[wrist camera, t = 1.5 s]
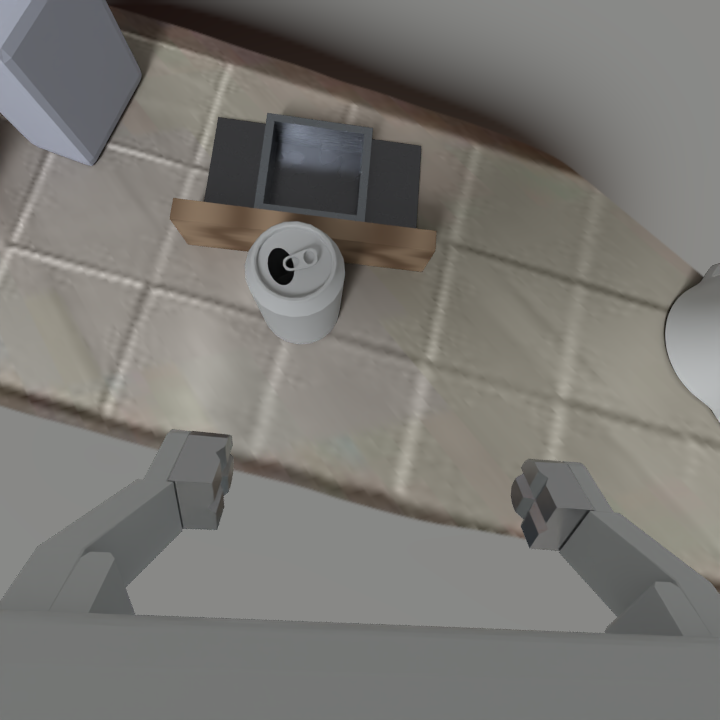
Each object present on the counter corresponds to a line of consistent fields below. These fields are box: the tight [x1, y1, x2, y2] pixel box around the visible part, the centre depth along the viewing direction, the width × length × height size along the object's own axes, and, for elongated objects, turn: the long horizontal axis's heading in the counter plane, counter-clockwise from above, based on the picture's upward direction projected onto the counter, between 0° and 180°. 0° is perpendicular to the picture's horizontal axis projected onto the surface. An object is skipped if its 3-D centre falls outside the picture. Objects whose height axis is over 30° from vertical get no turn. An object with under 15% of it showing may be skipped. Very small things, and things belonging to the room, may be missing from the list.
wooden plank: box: [170, 198, 436, 272], centre depth 39 cm, size 24×2×5 cm, turn 85°
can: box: [245, 221, 345, 344], centre depth 34 cm, size 8×8×12 cm
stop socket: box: [204, 113, 421, 228], centre depth 41 cm, size 22×12×3 cm, turn 85°
